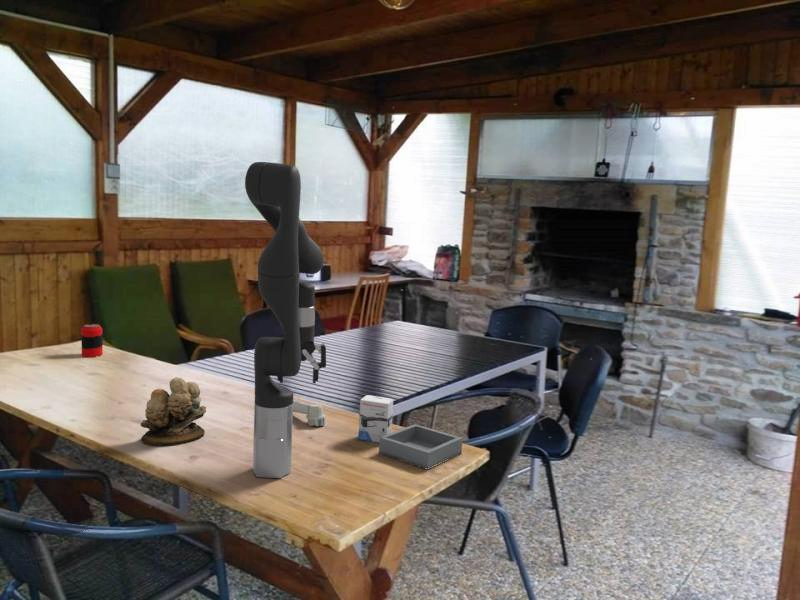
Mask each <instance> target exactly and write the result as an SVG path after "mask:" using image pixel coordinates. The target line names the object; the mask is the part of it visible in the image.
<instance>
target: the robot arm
mask: <svg viewBox="0 0 800 600" xmlns="http://www.w3.org/2000/svg"><path fill="white" fill-rule="evenodd" d="M301 179H302V178H301V175H300V170H299V168H298V167H297V166H296V165H294V164H287V163H278V162H270V161H269V162H268V161H256V162H252V163H251V164H250V165H249V167H248V168H247V171H246V174H245V178H244V186H245V187H244V188H245V192H246V195H247V197H248V199H249V201H250V203H251V204H252V205H253V206H254V207H255V209H256V210H257V211H258V213H259V214H260V215H261V216H262V218H263V219H264V220H265V222H267V223H268V225H269V226H270V227H271V229H272V230H273V232H274V234H273V235H272V238H271V239H270V240H269V241H268V243H267V244H266V245H265V247H264V249H263V251H262V252H261V254H260V256H259V257H258V262H257V284H258V285H257V286H258V291H259V294H260V295H261V298H262V299H263V300H264V302H265V304H266V306H267V307H268V308H269V309H270V311H271V312H272V313H273V314H274V316H275V317H276V319H277V321H278V322H279V324H280V327H281V329H282V332H283V336H284V337H275V336H274V337H273V336H272V337H271V336H260V337H259V338H258V339H257V341H256V342H255V345H254V351H253V352H254V354H253V356H254V357H253V365H254V366H253V367H254V407H253V408H254V411H253V412H254V414H253V415H254V416H253V449H252V450H253V451H252V457H253V458H252V473H253V474H255V477H256V478H270V479H271V478H272V479H283V477H284V476H287V475H289V474H290V473H291V472H292V451H293V450H292V447H293V423H294V422H293V417H294V412H293V400H294V392H293V391H292V390H291V389H289V388H288V387H286V386H284V385H281V384H283V383H284V377H295V376H297V375H298V373H300V372H299V371H300V369H301V364H302V362H306V361H307V360H308V362H309V363H310V365H311V366H312V384H316V383H317V382H318V381H319V376H320V375H319V372H320V371H319V370H320V369H324V368H326V367H327V347H326V345H325V343H321V344H315V321H316V312H315V302H316V301H315V300H316V299H315V297H316V289H315V285H314V284H313V283H311V282H308V281H306V280H303V279H301V278H300V274H304V275H305V274H307V275H315V274H318V273H319V272H320V271H322V269H323V266H324V262H325V261H324V260H325V259H324V254H323V252H322V249H321V248H320V246H319V245H318V244H317V243H316V242H315V241H314V240H313V238H311V237H310V236H309V234H308V231H307V230H306V226H305V225H304V223H303V221H302V220H301V218H300V209H301V207H300V205H301V189H302V188H301V183H302V181H301ZM315 351H317V352H318V353H319V354H320V361H319V362H317V360H316V359H315V358H314V355H312V354H313V353H314V352H315ZM272 377H277V381H279V383H280V384H279V383H278V382H276V381H275V380H274V379H273V378H272Z"/></svg>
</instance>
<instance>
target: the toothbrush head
mask: <svg viewBox="0 0 800 600" xmlns="http://www.w3.org/2000/svg"><path fill="white" fill-rule="evenodd" d="M293 413H299V414H303V415H306V416H305V418H306V420H307V424H308V426H311V427H313V426H315V427H322V426H325V425H326V420H325V419H326V418H327V415H326V414H324V411H323V406H322V405H321V404H309V403H306V402H302V401H300V400H295V399H293Z"/></svg>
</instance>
